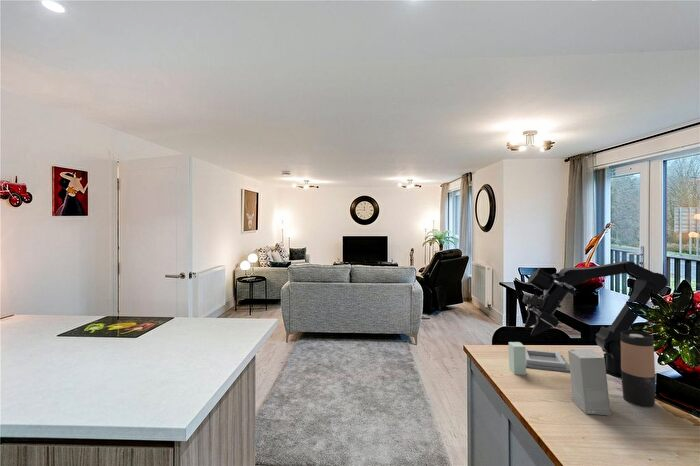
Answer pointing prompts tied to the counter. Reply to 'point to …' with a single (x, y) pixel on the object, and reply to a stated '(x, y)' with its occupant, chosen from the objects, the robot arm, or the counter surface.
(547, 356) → the charging dock
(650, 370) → the travel mug
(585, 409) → the skincare box
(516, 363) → the rectangular block
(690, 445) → the counter surface
